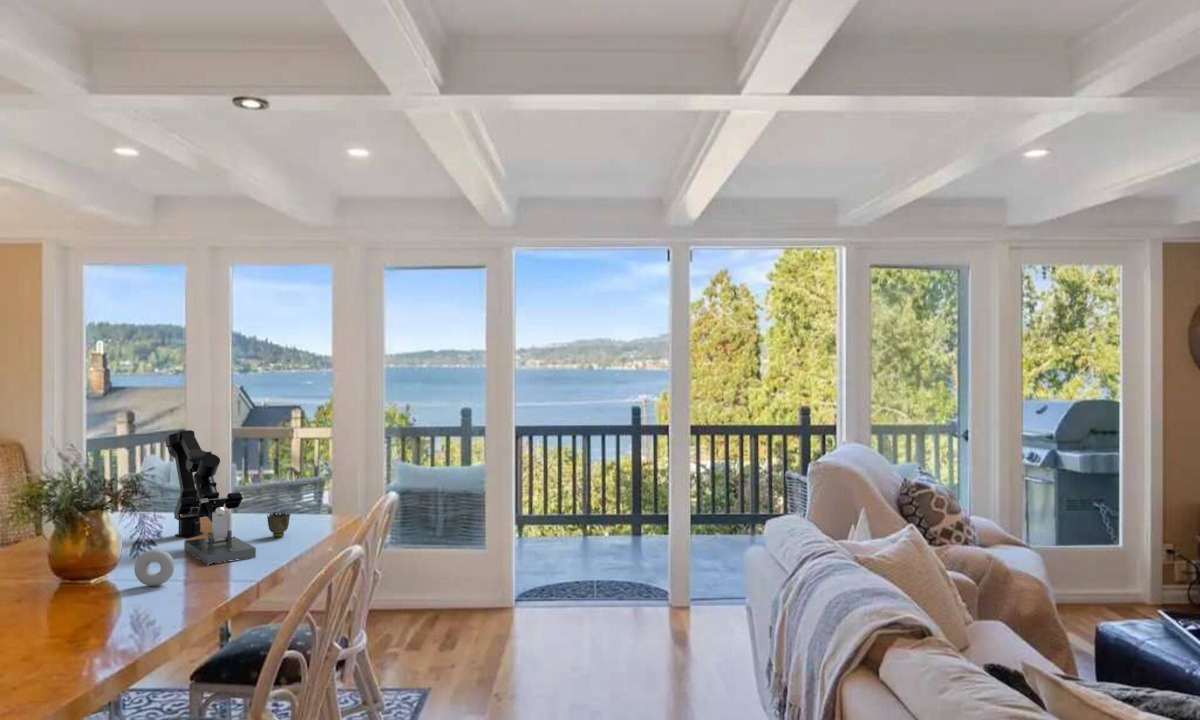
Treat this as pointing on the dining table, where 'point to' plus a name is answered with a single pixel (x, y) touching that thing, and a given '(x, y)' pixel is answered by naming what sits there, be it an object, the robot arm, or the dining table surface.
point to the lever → (219, 525)
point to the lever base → (219, 549)
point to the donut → (152, 578)
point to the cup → (278, 523)
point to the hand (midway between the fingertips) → (215, 524)
